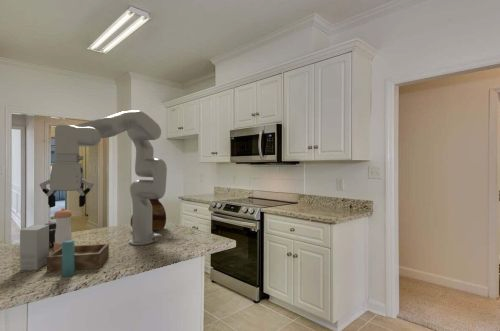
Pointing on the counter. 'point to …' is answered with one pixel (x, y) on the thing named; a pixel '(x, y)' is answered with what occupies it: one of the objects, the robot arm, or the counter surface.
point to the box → (80, 257)
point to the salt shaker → (62, 227)
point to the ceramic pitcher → (157, 215)
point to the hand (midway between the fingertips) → (67, 206)
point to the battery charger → (51, 233)
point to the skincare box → (34, 247)
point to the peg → (68, 258)
